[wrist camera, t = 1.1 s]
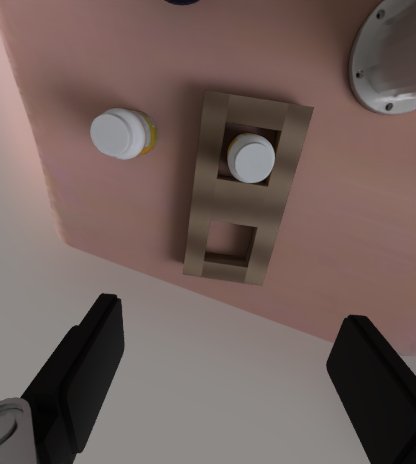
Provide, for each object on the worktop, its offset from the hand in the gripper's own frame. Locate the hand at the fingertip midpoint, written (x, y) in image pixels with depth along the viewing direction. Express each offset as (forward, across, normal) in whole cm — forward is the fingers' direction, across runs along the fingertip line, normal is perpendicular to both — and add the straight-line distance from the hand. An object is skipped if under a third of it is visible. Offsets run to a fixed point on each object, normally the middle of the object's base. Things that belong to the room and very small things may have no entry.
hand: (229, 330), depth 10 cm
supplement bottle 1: (+28, +12, -6) cm, 31 cm away
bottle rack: (+28, -3, +1) cm, 28 cm away
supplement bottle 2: (+28, -3, -5) cm, 28 cm away
